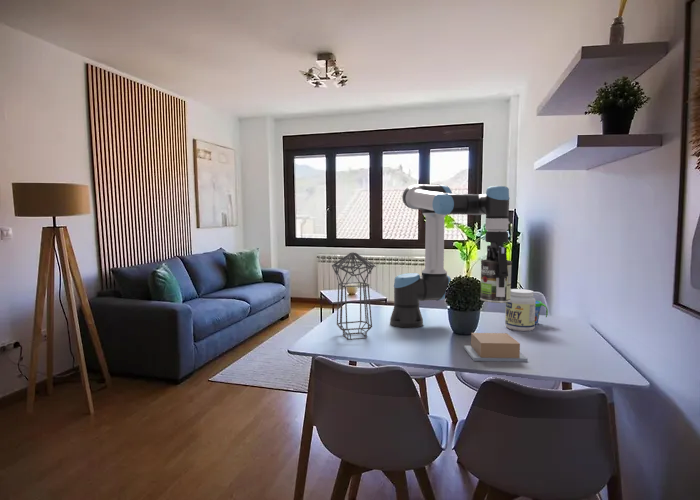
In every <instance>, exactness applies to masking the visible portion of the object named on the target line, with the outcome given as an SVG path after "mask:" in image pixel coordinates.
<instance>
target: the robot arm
mask: <svg viewBox="0 0 700 500" xmlns="http://www.w3.org/2000/svg"><path fill="white" fill-rule="evenodd" d="M401 199H402V203H403V204H404V206H405V207H407V208H409V209H412V210H417V211H418V210H419V211H420V210H421V211H422V215H423V216H424V217H425V237H424V238H425V243H424V245H425V249H424V253H425V254H424V263H425V264H424V268H423V270H422V271H421V275H420V274H419V273H418V272H411V273H410V272H408V273H402V274H398V275H396V276H395V278H394V281H393V282H394V284H393V309H392V313H391V316H390V319H389V321H390V322H389V323H390V325H391V326H393V327H397V328H406V329H411V328H413V329H414V328H419V327H423V325H424V319H423V315H422V313H421V310H420V302H424V301H425V302H426V301H428V302H430V301H437V302H438V301H440V300H441V301H443V300H446V299H445V293H446V289H447V286H448V284H449V282H450V281H452V279H451V277H450V276H449V274H448V271H446V270H445V268H444V266H445V218H446V216H447V215H464V216H465V215H466V216H467V215H468V216H469V215H470V216H471V215H472V216H481V215H485V225H484V226H485V228H484V229H485V230H486V232H485V234H484V235H485V239H484V240H485V241H484V242H486V243H490V245H487V246H486V259H485V260H487V259H489V260H495V262H499V265H497V275H496V297H505V278H506V277H508V268H507V260H508V257H507V256H508V255H507V250H508V248H507V247H506V246H505V247H504V244H503V243H508V242H509V232H508V230H509V225H510V223H511V222H510V221H509V215H510V214H509V213H510V188H509V187H507V186H505V185H495V186H494V185H492V186H489V187H487V188H486V192H485V193H480V194H479V193H477V194H475V193H453V192H452V190H451V188H450V186H448V185H445V184H435V183H434V184H432V183H431V184H426V183H425V184H424V183H422V184H421V183H416V184H411V185H409V186H407V187H406V188H405V190H403V192H402V198H401Z"/></svg>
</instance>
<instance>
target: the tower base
mask: <svg viewBox="0 0 700 500" xmlns="http://www.w3.org/2000/svg"><path fill="white" fill-rule="evenodd" d="M470 333H471V334H470V335H471V338H470V341H471V342H470V345H464V346H463V349H464V351H466V353H467V354H468V355H469V357H470V358H471V360H472V361H473V362H475V361H476V362H525V363H526V362H527V363H528V357H526V356H525V355H524V354H522V352H521V351H520V350H521V343H520V342H519V341H518V340H516V339H515V338H514V337H512V336H511V335H510V334H508V332H505V333H503V332H497V333H496V332H470Z"/></svg>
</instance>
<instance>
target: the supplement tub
mask: <svg viewBox="0 0 700 500" xmlns="http://www.w3.org/2000/svg"><path fill="white" fill-rule="evenodd" d="M510 300H511V301H510V302H508V303H505V316H504V317H505V320H504V324H505V327H506V328H507V329H510V330H512V331H519V332H529V331H533V330H534V329H535V327H536V324H535V302H536V301H537V300H536V298H535V297H534V290H530V289H525V288H524V289H522V288H511V296H510ZM535 300H536V301H535Z"/></svg>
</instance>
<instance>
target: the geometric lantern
mask: <svg viewBox="0 0 700 500" xmlns="http://www.w3.org/2000/svg"><path fill="white" fill-rule="evenodd" d="M357 259H358V260H359V263H358V262H357ZM350 264H351V265H350ZM349 265H350V266H349ZM363 265H365V266H363ZM331 267H332V270H333V272H334V274H335V275H336V279H337V304H336V305H337V309H336V311H337V312H336V326H337V327H338V328H339V330H340V331H342V335H343V336H344V338H346V340H347V341H349V340H350V341H351V340H352V341H353V340H362V339H367V338H368V336H367V335H368V334H367V333H368V332H369V331H370V330H371V329H372V328H373V322H372V321H373V320H372V309H371V308H372V307H371V298H370V297H371V295H370V283H368V281H369V275H371V274H372V271H373V269H374V268H376V267H377V265H375V264H374V263H372V262H371V261H370V260H368V259H366V258H364V257H363V256H361V255H360V254H358V253H357V252H349V253H348V254H347V255H345V256H344V257H342V258H341V259H340V260H337V261H336V262H335V263H333V264H331ZM349 269H350V270H351V271H349ZM362 269H364V270H362ZM340 270H341V271H343V272H345V275H344V277H343V280H342V279H341V277H340V274H339V272H340ZM357 270H358V273H356V274H355V272H356V271H357ZM361 270H362V271H361ZM365 272H366V276H365V278H363V276H362V274H363V273H365ZM347 274H348V275H350V276H349V278H348V279H347V281H346V282H344V281H345V279H346V277H347V276H348V275H347ZM357 276H360V278H361V280H362V282H361V281H360V280H359V278H358V277H357ZM352 277H355V278H356V280H357V281H358V282H349V281H350V279H351V278H352ZM339 281H340V282H339ZM347 284H350V285H347ZM351 284H359V285H351ZM353 287H355V288H356V287H359V321H358V320H355V321H348V308H347V305H348V303H347V302H348V301H347V288H353ZM362 288H363V290H362ZM362 291H363V293H362ZM343 294H344V295H343ZM362 294H363V303H364V316H365V318H364V320H362ZM367 295H368V297H367ZM343 299H344V305H345V308H344V309H345V321H344V322H343ZM339 303H340V304H339ZM339 305H340V309H339ZM368 309H369V310H368ZM339 310H340V311H339ZM339 313H340V314H339ZM369 318H370V319H369ZM354 323H355V324H356V323H359V327H356V328H355V327H354V328H353V327H350V328H348V324H354ZM362 323H364V324H363V325H362V327H361V324H362ZM343 325H345V328H344V326H343ZM366 325H367V327H365V326H366ZM352 330H353V331H356V330H357V331H358V332H350V331H352ZM362 331H363V332H362ZM360 334H361V335H363V336H364V337H355V338H352V335H360ZM346 335H347V336H346Z"/></svg>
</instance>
